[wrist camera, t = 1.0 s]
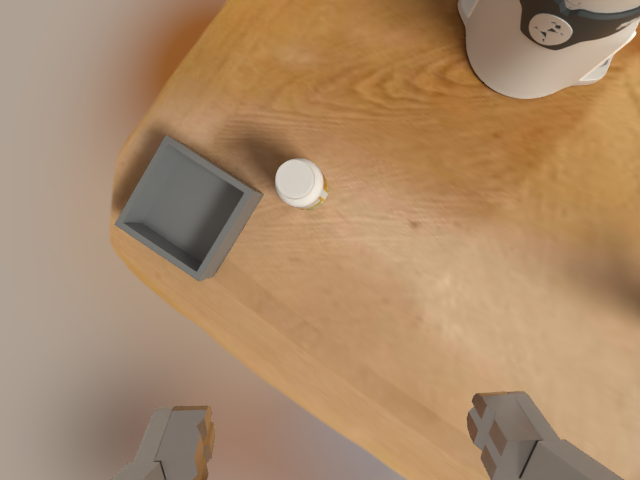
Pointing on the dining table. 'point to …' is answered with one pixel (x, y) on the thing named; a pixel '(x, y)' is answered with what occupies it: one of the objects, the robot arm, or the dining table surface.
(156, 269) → the dining table surface
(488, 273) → the dining table surface
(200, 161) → the box
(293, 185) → the supplement bottle
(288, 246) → the dining table surface
